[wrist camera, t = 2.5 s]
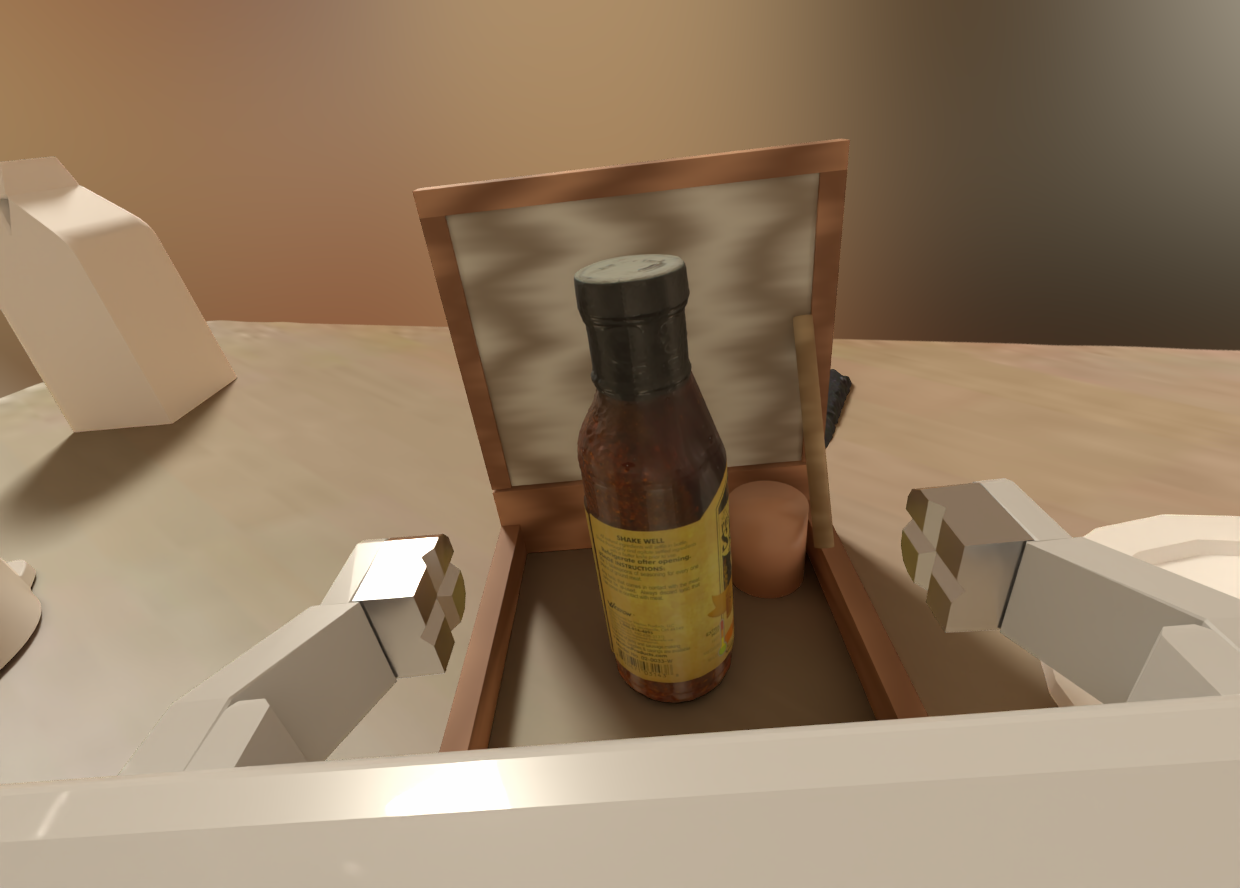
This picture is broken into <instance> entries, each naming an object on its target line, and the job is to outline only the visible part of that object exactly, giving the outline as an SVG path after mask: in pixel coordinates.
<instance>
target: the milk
mask: <svg viewBox="0 0 1240 888" xmlns="http://www.w3.org/2000/svg"><path fill="white" fill-rule="evenodd" d="M0 309H1V311H2V312H3V314H4V316H5V317H6V319H7V321H8V322H9V324H10V326H11V327H12V329H13V331H14V333H15V334H16V336H17V338H18V339H19V341H20V343H21V344H22V346H23V348H24V349H25V351H26V353H27V354H28V356H29V358H30V360H31V361H32V363H33V365H34V366H35V368H36V370H37V371H38V373H39V375H40V376H41V378H42V380H43V381H44V383H45V385H46V386H47V388H48V390H49V392H50V393H51V395H52V397H53V398H54V400H55V402H56V403H57V405H58V407H59V408H60V410H61V412H62V413H63V415H64V417H65V419H66V420H67V422H68V424H69V425H70V427H71V429H72V430H73V432H84V431H95V430H107V429H118V428H130V427H141V426H152V425H164V424H173V423H174V422H175V421H177V420H178V419H180V418H181V417H182V416H184V415H185V414H187V413H188V412H190V411H191V410H192V409H194V408H195V407H197V406H198V405H199V404H201V403H202V402H204V401H205V400H207V399H208V398H209V397H211V396H212V395H214V394H215V393H216V392H218V391H219V390H221V389H222V388H224V387H225V386H226V385H228V384H229V383H231V382H232V381H233V380H235V379H236V378H237V376H236V374H235V373H234V371H233V369H232V367H231V366H230V364H229V362H228V360H227V359H226V357H225V355H224V353H223V351H222V350H221V348H220V346H219V344H218V343H217V341H216V339H215V337H214V336H213V334H212V332H211V330H210V328H209V327H208V325H207V323H206V321H205V320H204V318H203V316H202V314H201V313H200V311H199V309H198V308H197V305H196V304H195V302H194V300H193V298H192V297H191V295H190V293H189V291H188V290H187V288H186V286H185V284H184V283H183V281H182V279H181V277H180V275H179V274H178V272H177V270H176V268H175V267H174V265H173V263H172V261H171V259H170V258H169V256H168V254H167V252H166V251H165V249H164V247H163V245H162V244H161V242H160V240H159V238H158V236H157V235H156V234H155V232H154V231H153V229H152V228H151V227H150V226H149V225H148V224H146V223H145V222H144V221H143V220H141V219H140V218H138V217H137V216H135V215H133V214H132V213H130V212H128V211H126V210H124V209H123V208H121V207H119V206H117V205H115V204H114V203H112V202H110V201H108V200H106V199H104V198H103V197H101V196H99V195H97V194H95V193H94V192H92V191H90V190H88V189H86V188H85V187H82V186H79V185H78V182H77V181H76V180H75V179H74V178H73V176H72V175H71V174H70V173H69V172H68V171H67V169H66V168H65V167H64V166H63V165H62V164H61V163H60V162H59V160H58V159H57V158H56V157H55V156H53V157H43V158H33V159H23V160H14V161H4V162H0Z"/></svg>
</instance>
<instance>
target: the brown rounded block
mask: <svg viewBox="0 0 1240 888" xmlns="http://www.w3.org/2000/svg"><path fill="white" fill-rule="evenodd" d="M808 512H809V503H808V500H807V498H806V497H805V496H804V494H803V493H802V492H800V491H799V490H798V489H796V488H794V487H792V486H790V485H788V484H785V483H781V482H776V481H754V482H749V483H746V484H743V485H741V486H739V487H737V488H735V489H734V490H733V491H732V492H731V493H730V494H729V517H730V536H731V544H730V546H731V558H732V583H733V584H734V585H735V586H736V587H737V588H738V589H740V590H741V591H743V592H745V593H747V594H749V595H752V596H756V597H760V598H778V597H783V596H786V595H788V594H790V593H792V592H794V591H795V590H796V589H798V588H799V586H800V585H801V583H802V581H803V578H804V566H805V552H806V539H807V526H808Z"/></svg>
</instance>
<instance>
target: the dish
mask: <svg viewBox="0 0 1240 888" xmlns="http://www.w3.org/2000/svg"><path fill="white" fill-rule="evenodd" d="M1084 538H1087V539H1089V540H1092V541H1094V542H1097V543H1099V544H1102V545H1104V546H1107V547H1109V548H1112V549H1114V550H1117V551H1120V552H1122V553H1125V554H1127V555H1130V556H1132V557H1135V558H1137V559H1140V560H1142V561H1145V562H1147V563H1150V564H1152V565H1155V566H1157V567H1160V568H1162V569H1165V570H1167V571H1170V572H1172V573H1175V574H1177V575H1180V576H1183V577H1185V578H1188V579H1190V580H1193V581H1195V582H1198V583H1200V584H1203V585H1205V586H1208V587H1210V588H1213V589H1215V590H1218V591H1220V592H1223V593H1225V594H1228V595H1230V596H1233V597H1235V598H1238V599H1240V516H1210V515H1171V514H1163V515H1158V516H1153V517H1148V518H1143V519H1139V520H1134V521H1129V522H1124V523H1119V524H1114V525H1109V526H1104V527H1099V528H1095V529H1094V530H1093V531H1091V532H1090V533H1088V534H1087V535H1085V536H1084ZM1041 664H1042V668H1043V671H1044V675H1045V679H1046V682H1047V686H1048V690H1049V693H1050V695H1051V697H1052V698H1053V700H1054V701H1055V702H1056V704H1057V705H1058V707H1070V706H1084V705H1098V704H1103V703H1101V702H1100V701H1099V700H1097V699H1096V698H1094V697H1093V696H1091V695H1090V694H1088V693H1087V692H1085V691H1084V690H1083V689H1081V688H1080V687H1078V686H1077V685H1075V684H1074V683H1072V682H1071V681H1070V680H1068V679H1067V678H1065V677H1064V676H1062V675H1061V674H1059V673H1058V672H1057V671H1055V670H1054V669H1052V668H1051V667H1049V666H1048V665H1046V664H1045V663H1044V662H1042V661H1041Z"/></svg>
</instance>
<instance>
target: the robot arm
mask: <svg viewBox="0 0 1240 888" xmlns="http://www.w3.org/2000/svg"><path fill="white" fill-rule="evenodd" d="M906 510H907V511H908V512H909V514H910V515H911V517H912V518H913V519H912V520H911V521H910V522H909V523H908V524H907V525H906V526H905V527H904V528H903V531H902V540H901V549H902V556H903V561H904V564H905V567H906V569H907V572H908V573H909V575H910V577H911V579H912V580H913V582H914V583H916V584H917V585H919V586H921V587H922V588H924V589H926V590H928V593H927V599H926V603H927V605H928V606H929V608H930V609H931V611H932V613H933V614H934V616H935V617H936V619H937V621H938V622H939V624H940V625H941V627H942V629H943V630H944V632H945V633H949V632H967V631H985V630H1000V633H1002V634H1003V635H1005V636H1006V637H1007V638H1009V639H1010V640H1012V641H1013V642H1015V643H1016V644H1018V645H1019V646H1020V647H1022V648H1023V649H1025V650H1026V651H1028V652H1029V653H1031V654H1032V655H1033V656H1035V657H1036V658H1038V659H1039V660H1041V661H1042V662H1044V663H1045V664H1046V665H1048V666H1049V667H1051V668H1052V669H1054V670H1055V671H1057V672H1058V673H1059V674H1061V675H1062V676H1064V677H1065V678H1067V679H1068V680H1070V681H1071V682H1072V683H1074V684H1075V685H1077V686H1078V687H1080V688H1081V689H1083V690H1084V691H1085V692H1087V693H1088V694H1090V695H1091V696H1093V697H1094V698H1096V699H1097V700H1099V701H1100V702H1101V703H1103V704H1098V705H1084V706H1070V707H1057V708H1043V709H1029V710H1016V711H1002V712H988V713H975V714H961V715H947V716H933V717H919V718H905V719H892V720H878V721H864V722H850V723H836V724H822V725H808V726H794V727H781V728H767V729H753V730H740V731H726V732H712V733H699V734H685V735H671V736H657V737H644V738H630V739H616V740H603V741H589V742H575V743H562V744H548V745H534V746H521V747H507V748H493V749H479V750H466V751H452V752H438V753H425V754H411V755H397V756H383V757H370V758H356V759H342V760H329V761H325V760H326V759H327V757H328V756H329V755H330V754H331V753H332V752H333V751H334V750H335V749H336V748H337V747H338V745H339V744H340V743H341V742H342V741H343V740H344V739H345V738H346V737H347V736H348V734H349V733H350V732H351V731H352V730H353V729H354V728H355V727H356V726H357V725H358V723H359V722H360V721H361V720H362V719H363V718H364V717H365V716H366V715H367V714H368V712H369V711H370V710H371V709H372V708H373V707H374V706H375V705H376V704H377V703H378V701H379V700H380V699H381V698H382V697H383V696H384V695H385V694H386V693H387V692H388V690H389V689H390V688H391V687H392V686H393V685H394V684H395V683H396V682H397V680H396V679H398V678H407V677H416V676H425V675H434V674H444V673H445V671H446V668H447V665H448V662H449V659H450V656H451V652H452V649H453V646H454V643H455V641H454V638H453V636H452V633H451V631H452V630H453V629H454V628H455V627H456V626H457V625H458V624H459V623H460V622H461V620H462V617H463V613H464V610H465V595H466V592H465V586H464V580H463V577H462V574H461V571H460V570H459V569H458V568H457V567H455V566H454V565H453V564H451V563H450V561H451V558H452V555H453V552H454V550H453V548H452V545H451V543H450V540H449V538H448V537H447V536H446V535H444V534H435V535H421V536H408V537H394V538H390V539H388V538H384V539H373V540H364V541H362V542H360V543H358V544H357V545H356V547H355V548H354V550H353V551H352V553H351V555H350V556H349V558H348V560H347V561H346V563H345V565H344V566H343V568H342V570H341V571H340V573H339V574H338V576H337V578H336V579H335V581H334V583H333V584H332V586H331V588H330V589H329V591H328V593H327V594H326V596H325V597H324V599H323V601H322V602H321V604H320V605H318V606H311V607H309V608H308V609H306V610H305V611H303V612H302V613H301V614H299V615H298V616H296V617H295V618H293V619H292V620H291V621H289V622H288V623H286V624H285V625H283V626H282V627H281V628H279V629H278V630H276V631H275V632H273V633H272V634H271V635H269V636H268V637H266V638H265V639H263V640H262V641H260V642H259V643H258V644H256V645H255V646H253V647H252V648H250V649H249V650H248V651H246V652H245V653H243V654H242V655H240V656H239V657H238V658H236V659H235V660H233V661H232V662H230V663H229V664H228V665H226V666H225V667H223V668H222V669H220V670H219V671H217V672H216V673H215V674H213V675H212V676H210V677H209V678H207V679H206V680H205V681H203V682H202V683H200V684H199V685H197V686H196V687H195V688H193V689H192V690H190V691H189V692H187V693H186V694H185V695H183V696H182V697H180V698H179V699H177V700H176V701H174V702H173V703H172V704H171V705H170V706H169V707H168V709H167V710H166V711H165V713H164V714H163V715H162V717H161V718H160V719H159V721H158V722H157V723H156V725H155V726H154V727H153V729H152V730H151V731H150V733H149V734H148V735H147V737H146V738H145V739H144V741H143V742H142V743H141V745H140V746H139V747H138V748H137V750H136V751H135V752H134V754H133V755H132V756H131V758H130V759H129V760H128V762H127V763H126V764H125V766H124V767H123V768H122V770H121V771H120V772H119V774H118V775H117V776H109V777H95V778H82V779H68V780H54V781H40V782H27V783H13V784H0V888H1240V599H1238V598H1235V597H1233V596H1230V595H1228V594H1225V593H1223V592H1220V591H1218V590H1215V589H1213V588H1210V587H1208V586H1205V585H1203V584H1200V583H1198V582H1195V581H1193V580H1190V579H1188V578H1185V577H1183V576H1180V575H1177V574H1175V573H1172V572H1170V571H1167V570H1165V569H1162V568H1160V567H1157V566H1155V565H1152V564H1150V563H1147V562H1145V561H1142V560H1140V559H1137V558H1135V557H1132V556H1130V555H1127V554H1125V553H1122V552H1120V551H1117V550H1114V549H1112V548H1109V547H1107V546H1104V545H1102V544H1099V543H1097V542H1094V541H1092V540H1089V539H1087V538H1084V537H1074V538H1072V537H1071V536H1070V535H1069V534H1068V533H1067V532H1066V531H1065V530H1064V529H1063V528H1062V527H1060V526H1059V525H1058V524H1057V523H1056V522H1055V521H1054V520H1053V519H1052V518H1051V517H1050V516H1049V515H1048V514H1047V513H1046V512H1045V511H1044V510H1043V509H1041V508H1040V507H1039V506H1038V505H1037V504H1036V503H1035V502H1034V501H1033V500H1032V499H1031V498H1030V497H1029V496H1028V495H1027V494H1026V493H1025V492H1023V491H1022V490H1021V489H1020V488H1019V487H1018V486H1017V485H1016V484H1015V483H1014V482H1013V481H1011V480H1008V479H1005V478H1001V479H993V480H985V481H977V482H973V483H968V484H958V485H948V486H938V487H928V488H918V489H912V490H911V492H910V494H909V496H908V500H907V505H906ZM35 575H36V570H35V569H34V568H33V567H32V566H31V565H29V564H28V563H27V562H26V561H24V560H15V561H10V562H5V561H4V560H3V559H2V558H1V557H0V669H2V668H3V667H4V666H5V665H6V664H7V663H8V662H9V661H10V660H11V659H12V658H13V657H14V656H15V655H16V653H17V652H18V651H19V650H20V649H21V648H22V647H23V645H24V644H25V643H26V642H27V640H28V639H29V638H30V636H31V635H32V633H33V631H34V630H35V628H36V626H37V624H38V622H39V619H40V616H41V604H40V601H39V600H38V598H37V597H36V596H35V595H34V594H33V593H32V591H31V586H32V583H33V581H34V578H35Z"/></svg>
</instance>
